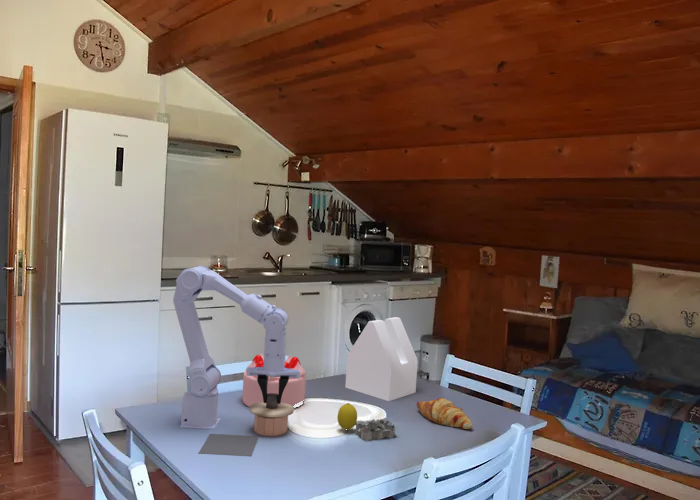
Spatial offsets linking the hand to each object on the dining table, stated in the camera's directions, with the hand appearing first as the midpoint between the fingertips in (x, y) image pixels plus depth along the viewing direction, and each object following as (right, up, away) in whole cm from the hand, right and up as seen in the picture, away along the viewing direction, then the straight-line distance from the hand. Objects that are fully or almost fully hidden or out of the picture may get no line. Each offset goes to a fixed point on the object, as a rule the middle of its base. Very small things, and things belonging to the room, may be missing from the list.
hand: (272, 402), depth 165 cm
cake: (-3, -7, +25) cm, 26 cm away
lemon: (+20, -9, +4) cm, 23 cm away
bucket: (-1, -8, 0) cm, 8 cm away
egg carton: (+28, -10, +2) cm, 30 cm away
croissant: (+50, -10, +17) cm, 53 cm away
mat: (-9, -8, -12) cm, 17 cm away
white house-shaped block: (+32, -7, +45) cm, 56 cm away
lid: (0, -2, 0) cm, 2 cm away
